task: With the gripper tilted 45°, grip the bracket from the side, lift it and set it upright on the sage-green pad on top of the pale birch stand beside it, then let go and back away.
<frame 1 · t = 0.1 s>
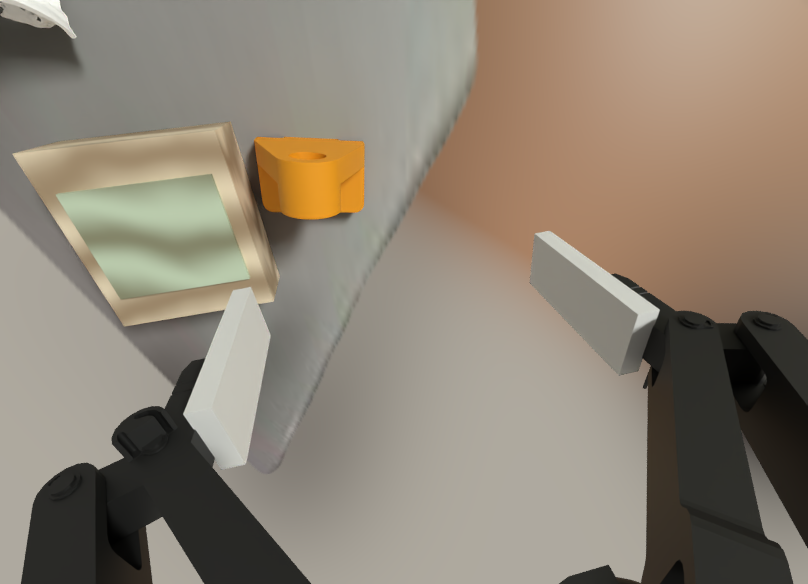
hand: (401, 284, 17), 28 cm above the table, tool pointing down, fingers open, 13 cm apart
riser stand: (184, 218, 40), on the table
bracket: (313, 172, 40), on the table
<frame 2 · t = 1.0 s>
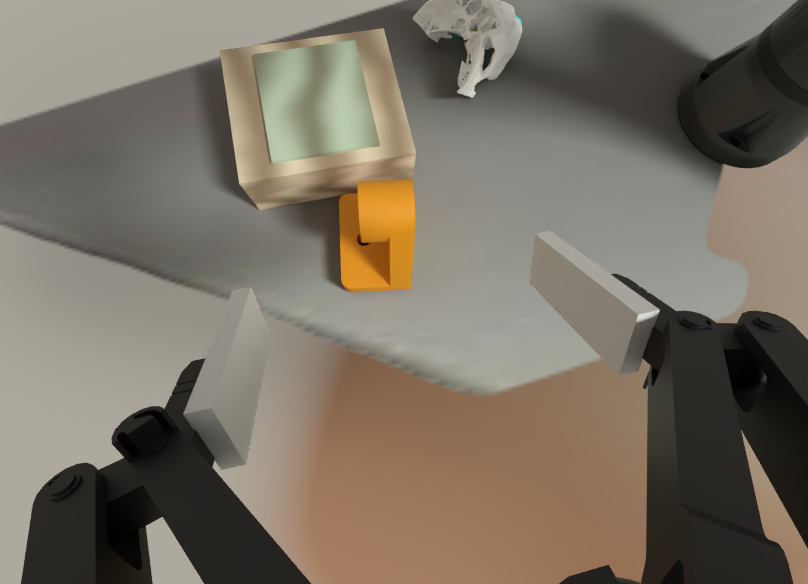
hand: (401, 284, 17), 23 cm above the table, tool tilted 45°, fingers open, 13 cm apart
riser stand: (325, 137, 44), on the table
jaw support: (471, 62, 47), on the table
bracket: (374, 247, 41), on the table
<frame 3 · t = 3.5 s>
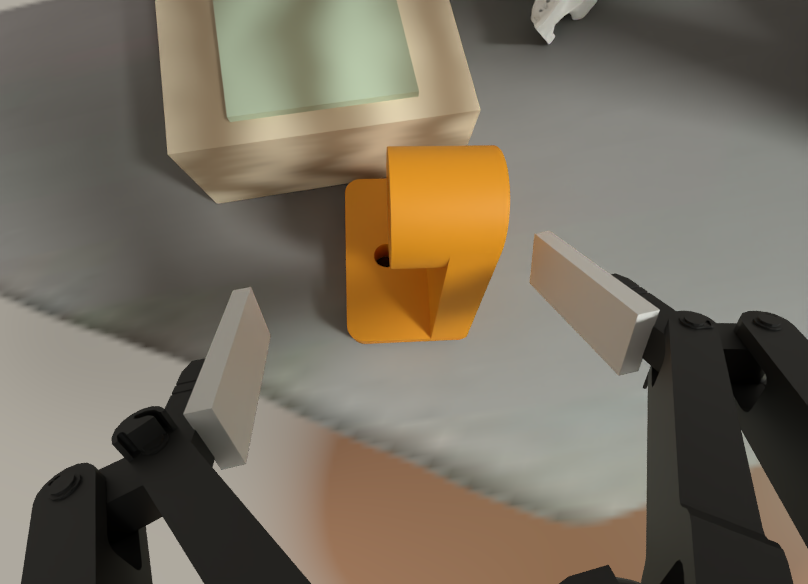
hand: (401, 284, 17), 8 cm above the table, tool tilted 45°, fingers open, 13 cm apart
riser stand: (325, 92, 28), on the table
bracket: (400, 267, 26), on the table
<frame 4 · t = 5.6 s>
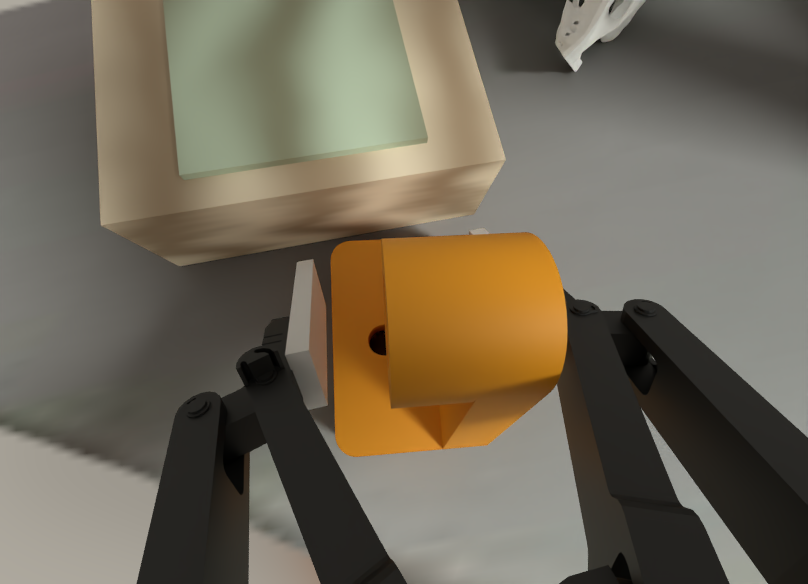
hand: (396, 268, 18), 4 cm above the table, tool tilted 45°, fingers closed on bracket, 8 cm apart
riser stand: (312, 126, 23), on the table
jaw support: (566, 11, 27), on the table
bracket: (401, 343, 21), on the table, touching gripper
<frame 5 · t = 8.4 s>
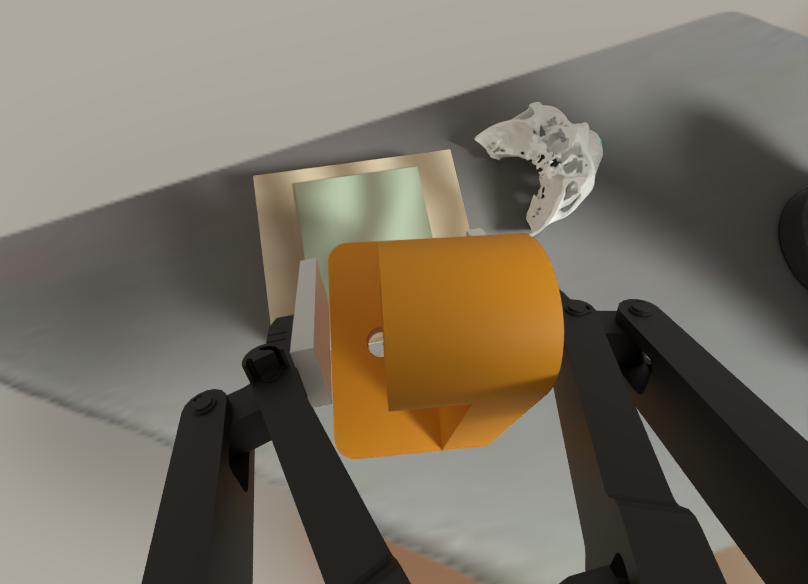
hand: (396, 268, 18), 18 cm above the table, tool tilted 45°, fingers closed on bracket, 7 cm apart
riser stand: (371, 264, 37), on the table
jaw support: (537, 182, 40), on the table
bracket: (400, 344, 21), point 14 cm above the table, touching gripper
when the fingers open (11 cm above the table, at t = 11.2 s): bracket drops 1 cm, resting on riser stand.
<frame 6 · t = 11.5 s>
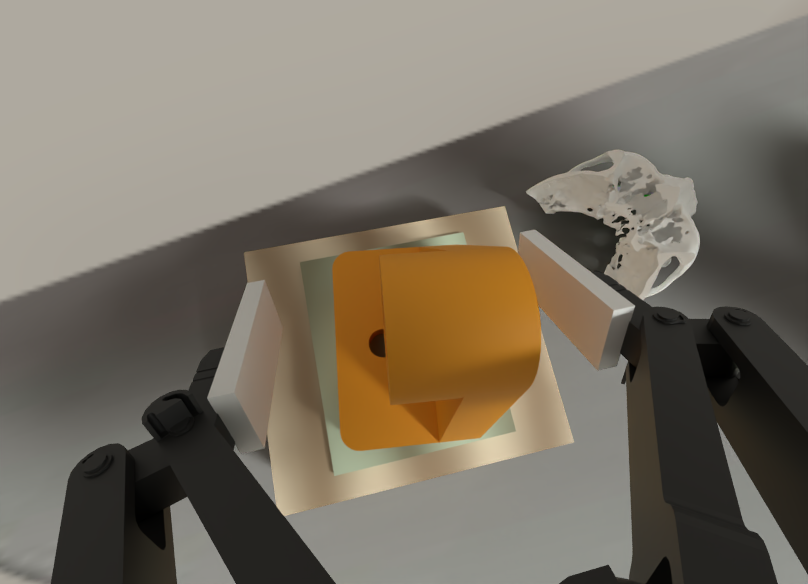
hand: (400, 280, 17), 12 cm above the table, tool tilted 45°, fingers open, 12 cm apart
riser stand: (399, 350, 28), on the table
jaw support: (601, 239, 32), on the table
bracket: (399, 345, 22), point 6 cm above the table, touching riser stand
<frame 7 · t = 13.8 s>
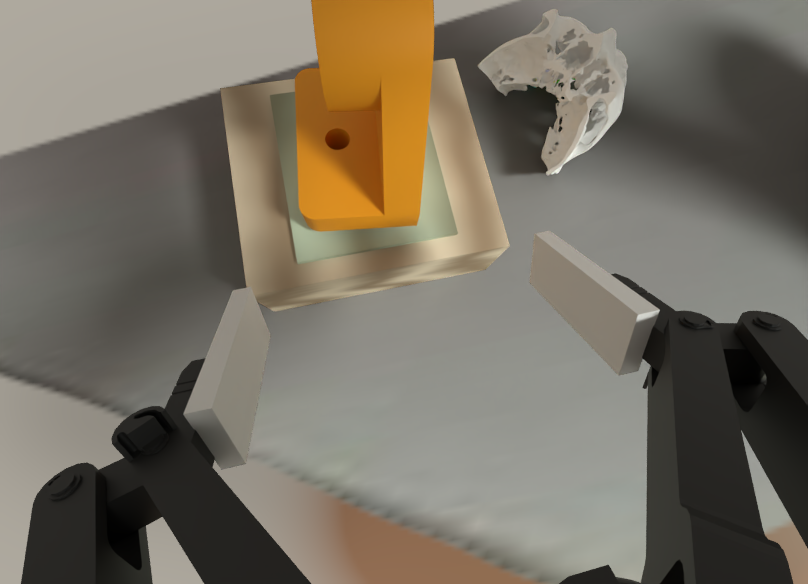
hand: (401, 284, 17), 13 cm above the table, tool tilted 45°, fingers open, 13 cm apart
riser stand: (364, 203, 32), on the table
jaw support: (550, 121, 35), on the table
bracket: (357, 164, 25), point 6 cm above the table, touching riser stand
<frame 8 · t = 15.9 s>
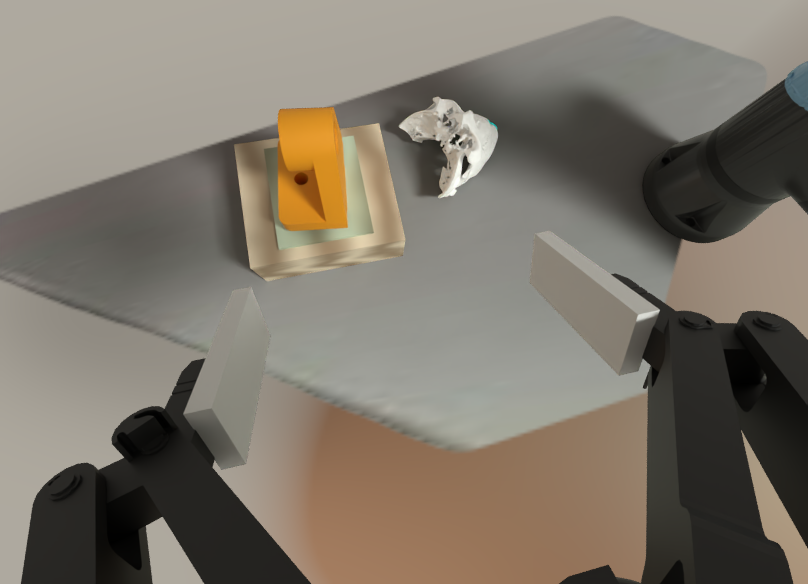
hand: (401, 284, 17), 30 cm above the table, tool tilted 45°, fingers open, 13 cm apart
riser stand: (326, 213, 49), on the table
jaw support: (453, 159, 52), on the table
bracket: (315, 190, 43), point 6 cm above the table, touching riser stand
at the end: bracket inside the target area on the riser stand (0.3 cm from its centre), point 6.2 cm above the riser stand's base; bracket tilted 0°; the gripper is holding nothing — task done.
